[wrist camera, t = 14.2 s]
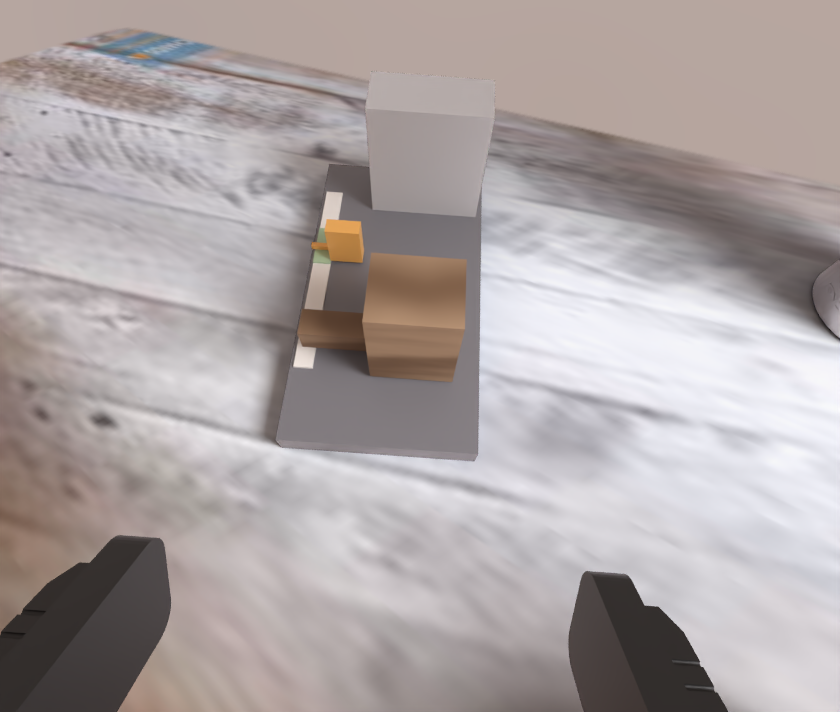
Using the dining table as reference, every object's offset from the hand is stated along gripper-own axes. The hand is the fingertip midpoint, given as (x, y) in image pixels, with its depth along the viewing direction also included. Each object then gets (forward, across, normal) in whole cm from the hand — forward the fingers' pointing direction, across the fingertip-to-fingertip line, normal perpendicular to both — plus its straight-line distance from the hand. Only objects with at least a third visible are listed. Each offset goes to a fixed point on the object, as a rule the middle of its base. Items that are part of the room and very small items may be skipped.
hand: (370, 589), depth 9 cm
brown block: (+28, +2, +4) cm, 28 cm away
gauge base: (+33, +2, +2) cm, 33 cm away
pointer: (+33, +7, -1) cm, 34 cm away
